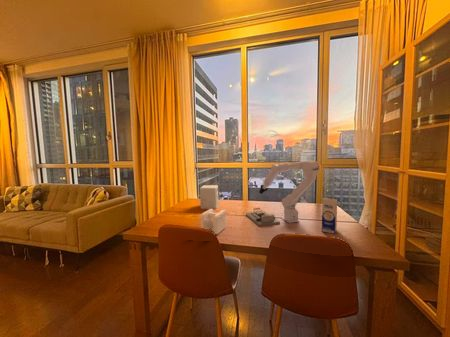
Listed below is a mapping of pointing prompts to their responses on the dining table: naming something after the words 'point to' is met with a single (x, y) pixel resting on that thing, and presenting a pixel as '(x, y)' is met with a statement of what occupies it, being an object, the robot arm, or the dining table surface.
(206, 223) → the cable organizer
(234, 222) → the dining table surface
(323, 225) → the milk carton
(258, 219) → the cutter base
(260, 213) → the cutter blade
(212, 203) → the supplement box
